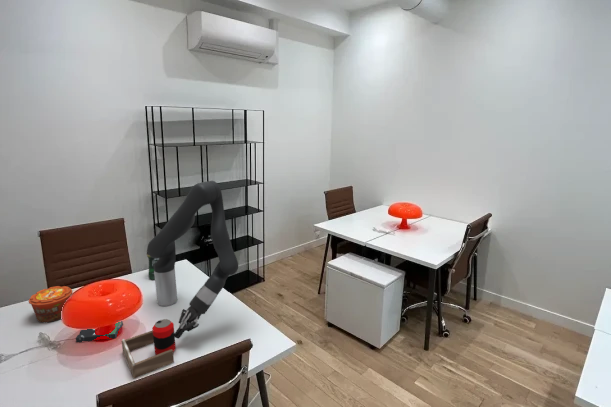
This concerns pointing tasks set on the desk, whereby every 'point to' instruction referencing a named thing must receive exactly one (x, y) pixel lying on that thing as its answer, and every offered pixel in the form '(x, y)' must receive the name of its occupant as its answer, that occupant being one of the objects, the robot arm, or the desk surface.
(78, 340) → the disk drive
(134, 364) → the frame
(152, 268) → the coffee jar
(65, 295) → the food container
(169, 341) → the soda can
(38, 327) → the desk surface
